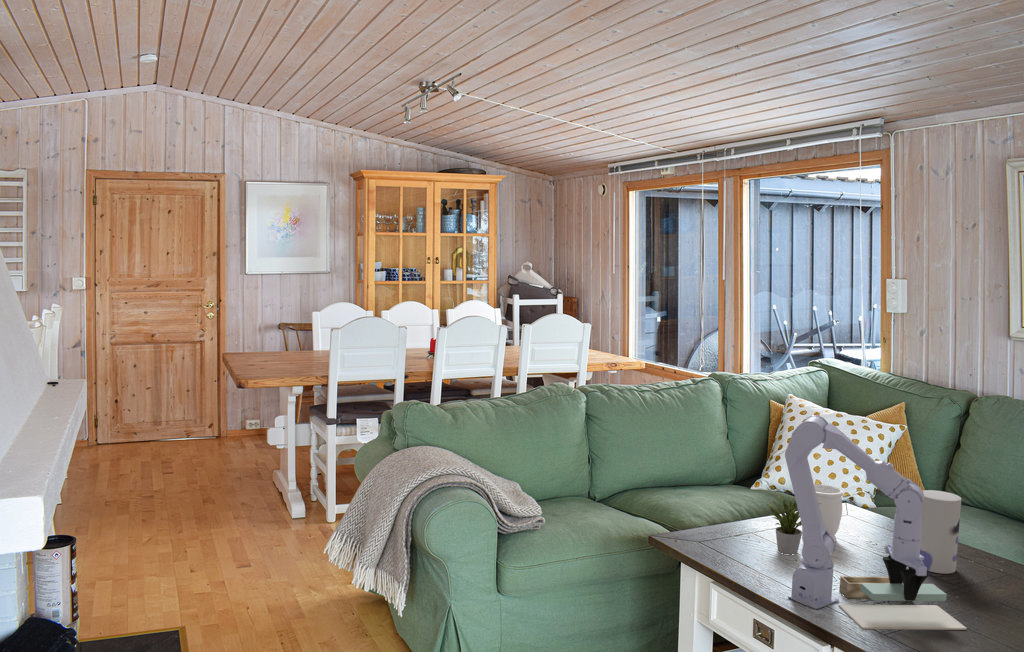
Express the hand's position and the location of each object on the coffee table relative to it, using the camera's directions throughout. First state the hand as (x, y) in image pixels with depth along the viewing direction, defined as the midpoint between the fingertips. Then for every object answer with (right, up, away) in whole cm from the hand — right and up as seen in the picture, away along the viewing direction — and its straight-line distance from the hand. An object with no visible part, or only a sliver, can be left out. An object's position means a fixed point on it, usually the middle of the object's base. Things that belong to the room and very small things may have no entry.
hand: (902, 594), depth 190 cm
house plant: (-12, -2, +42) cm, 43 cm away
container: (+24, -4, +33) cm, 41 cm away
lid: (0, 0, 0) cm, 0 cm away
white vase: (+1, -1, +53) cm, 53 cm away
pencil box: (-1, -4, +12) cm, 13 cm away
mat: (0, -6, +1) cm, 6 cm away
